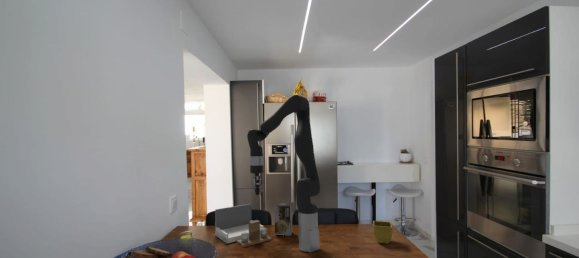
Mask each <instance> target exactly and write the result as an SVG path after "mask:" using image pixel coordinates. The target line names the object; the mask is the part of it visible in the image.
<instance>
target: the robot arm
mask: <svg viewBox="0 0 579 258" xmlns="http://www.w3.org/2000/svg"><path fill="white" fill-rule="evenodd" d="M310 110H311V109H310V101H309V100H308V99H307V97H305V96H302V95H299V94H292V95H291V96H290V97H288V98H287V99H286V100H285V101H284V102H283V104H281V106H280V107H279V108H278V109H277V110H276V111H275V112H274V113H273V114H272V115H270V117H268V118H266V120H263V122H261V124H260V125H259V127H260V128H250V129H249V130H248V132H247V133H246V137H247V142H248V145H249V150H250V151H249V152H250V154H249V155H250V158H249V173H250V174H253V184H254V193H255V196H259V195H260V194H261V193H260V188H261V178H262V177H261V175H260V174H263V173H264V171H265V170H264V157H263V156H264V152H263V151H264V150H263V149H264V148H263V146H261V145H259V144H260V143H259V142H262V141H264V140H265V139H266V138H267V137H268V136H269V135H270V133H272V132H274V131H275V130H276V129H277V128H279V126H281V124H282V122H283V121H284V120H285V118H287V117H288V116H290V115H291V114H293V113H294V114H296V121H297V124H296V125H297V127H296V131H295V134H294V137H293V139H294V140H293V141H294V142H293V143H294V150H295V154H296V156H297V158H298V159H299V161H300V162H301V164H302V166H303V168H304V171H305V178H299V179H298V180H297V182H296V184H295V197H296V198H295V199H296V206H297V209H298V216H297V217H298V249H299V250H300V251H301V252H305V253H307V252H308V253H313V252H316V251H318V250H321V249H320V229H319V228H318V225H319V224H318V223H319V222H318V205H316V204H314V203H312V201H311V198H312V197H313V198H314V197H317V196H318V195H319V194H320V191H321V183H320V181H321V180H320V179H319V173H318V169H317V165H316V159H315V157H316V156H315V149H314V141H313V136H312V135H313V134H312V127H311V116H310V115H311V114H310V113H311V111H310Z"/></svg>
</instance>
